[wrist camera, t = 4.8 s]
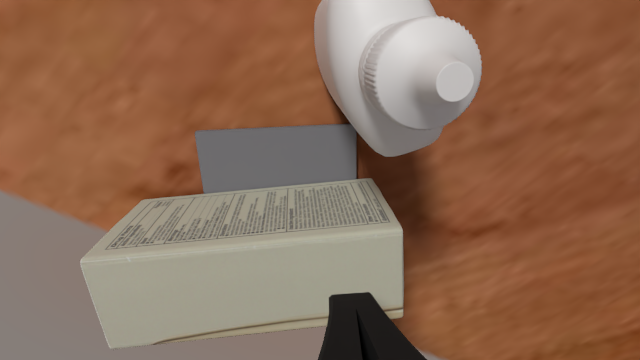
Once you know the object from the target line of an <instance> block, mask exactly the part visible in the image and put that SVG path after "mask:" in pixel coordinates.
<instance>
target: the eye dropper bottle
mask: <svg viewBox="0 0 640 360" xmlns="http://www.w3.org/2000/svg"><path fill="white" fill-rule="evenodd" d="M314 41H315V51H316V57H317V61H318V66H319V69H320V72H321V75H322V78H323V80H324V83H325V85H326V87H327V89H328V91H329V93H330V95H331V96H332V98H333V100H334V101H335V103H336V104H337V105H338V107H339V108H340V109H341V111H342V112H343V114H344V115H345V116H346V118H347V119H348V120H349V122H350V123H351V124H352V125H353V127H354V128H355V129H356V131H357V132H358V133H359V134H360V136H361V137H362V138H363V139H364V140H365V141H366V143H367V144H368V145H369V146H370V147H371V148H372V149H373V150H374V151H375V152H377V153H379V154H381V155H383V156H385V157H394V156H399V155H403V154H406V153H409V152H412V151H415V150H418V149H421V148H423V147H426V146H428V145H430V144H432V143H433V142H434V141H436V140H437V139H438V137H439V135H440V134H441V132H442V130H443V127H444V125H447V124H448V122H450V123H451V122H452V121H453V119H456V118H457V117H458V116H460V115H461V113H462V112H465V109H466V108H467V107H469V103H471V102H472V99H473V98H474V97H475V93H476V92H477V91H478V89H477V88H478V87H479V86H480V85H479V82H480V81H481V78H480V77H481V75H482V72H481V70H482V66H481V64H482V61H481V60H480V59H481V55H480V54H479V52H480V50H479V49H478V44H475V39H472V34H470V35H469V31H468V30H465V28H464V26H460V23H456V22H455V21H454V20H450V19H449V18H444V17H443V16H441V17H438V16H437V15H436V13H435V11H434V9H433V7H432V5H431V3H430V1H429V0H322V1H321V3H320V5H319V6H318V8H317V11H316V13H315V21H314Z"/></svg>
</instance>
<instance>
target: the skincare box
mask: <svg viewBox="0 0 640 360" xmlns="http://www.w3.org/2000/svg"><path fill="white" fill-rule="evenodd" d="M80 264H81V269H82V271H83V274H84V277H85V280H86V282H87V286H88V289H89V292H90V295H91V298H92V301H93V303H94V306H95V309H96V312H97V314H98V317H99V320H100V323H101V326H102V328H103V331H104V334H105V337H106V340H107V343H108V345H109V347H110V349H118V348H128V347H136V346H145V345H155V344H164V343H173V342H184V341H191V340H200V339H212V338H221V337H229V336H237V335H248V334H257V333H267V332H277V331H286V330H295V329H303V328H313V327H322V326H327V323H328V316H329V297H330V296H331V295H334V294H349V293H363V292H370V293H371V294H372V295H373V297H374V298H375V300H376V301H377V302H378V304H379V305H380V307H381V308H382V309H383V311H384V312H385V313H386V314H387V316H388V317H389V318H390V319H396V318H401V317H403V302H404V263H403V230H402V227H401V225H400V223H399V222H398V220H397V219H396V217H395V215H394V213H393V211H392V210H391V208H390V206H389V205H388V203H387V202H386V200H385V199H384V197H383V195H382V193H381V191H380V190H379V188H378V187H377V185H376V184H375V183H374V181H373V179H372V178H365V179H355V180H345V181H335V182H324V183H313V184H303V185H291V186H281V187H271V188H261V189H251V190H239V191H229V192H218V193H208V194H197V195H188V196H177V197H165V198H156V199H145V200H142V201H141V202H140V203H139V204H138V205H136V206H135V207H134V208H133V209H132V210H131V211H130V212H129V213H128V214H127V215H126V216H125V217H124V218H122V219H121V220H120V221H119V222H118V223H117V224H116V225H115V226H114V227H113V228H112V229H111V230H110V231H109V232H108V233H107V234H106V235H105V236H104V237H103V238H102V239H101V240H100V241H99V242H98V243H97V244H96V245H95V246H94V247H93V248H92V249H91V250H90V251H89V252H88V253H87V254H86V255H85V256H84V257H83V258H82V259H81V262H80Z"/></svg>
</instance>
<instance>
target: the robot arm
mask: <svg viewBox="0 0 640 360" xmlns="http://www.w3.org/2000/svg"><path fill="white" fill-rule="evenodd" d="M318 360H427V359H425V358H424V356H423V355H422V354H421V353H420V352H419V351H418V350H417V349H416V348H415V347H414V346H413V345H412V344H411V343H410V342H409V341H408V340H407V338H406V337H405V336H404V335H403V334H402V333H401V331H400V330H399V329H398V328H397V327H396V326H395V324H394V323H393V322H392V321H391V320H390V318H389V317H388V316H387V314H386V313H385V312H384V311H383V309H382V308H381V307H380V305H379V304H378V302H377V301H376V300H375V298H374V297H373V295H372V294H371V293H370V292H363V293H349V294H334V295H331V296H330V297H329V316H328V323H327V328H326V332H325V337H324V341H323V345H322V348H321V351H320V354H319V358H318Z"/></svg>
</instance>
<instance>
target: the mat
mask: <svg viewBox="0 0 640 360" xmlns="http://www.w3.org/2000/svg"><path fill="white" fill-rule="evenodd" d="M195 138H196V144H197V151H198V158H199V164H200V171H201V177H202V184H203V191H204V194H208V193H218V192H229V191H239V190H251V189H261V188H271V187H281V186H291V185H303V184H313V183H324V182H335V181H345V180H355V179H356V129H355V128H354V127H353V125H352V124H331V125H309V126H287V127H266V128H244V129H222V130H201V131H196V132H195Z"/></svg>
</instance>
